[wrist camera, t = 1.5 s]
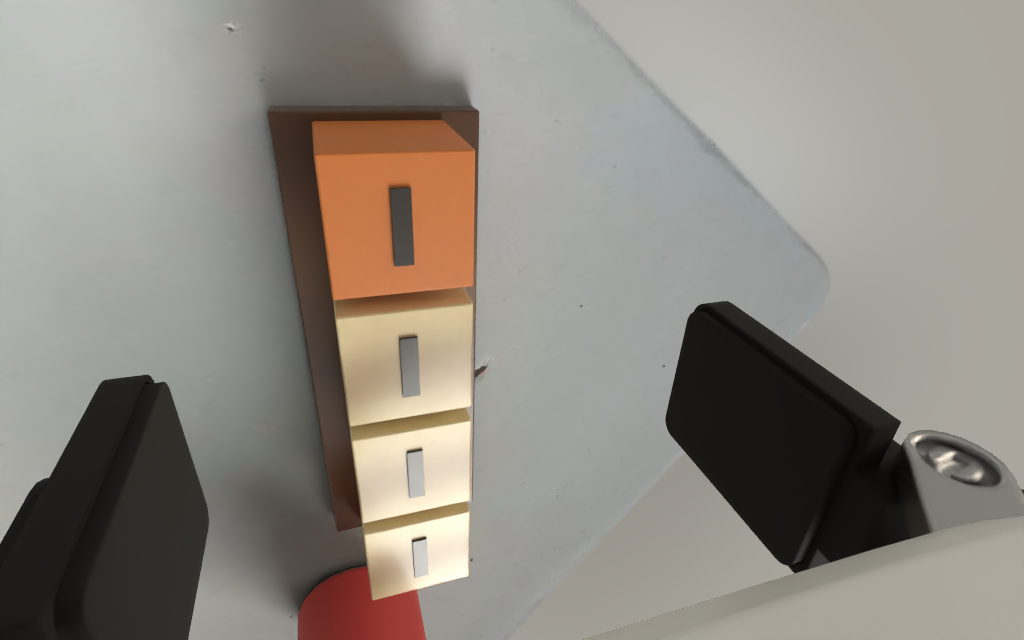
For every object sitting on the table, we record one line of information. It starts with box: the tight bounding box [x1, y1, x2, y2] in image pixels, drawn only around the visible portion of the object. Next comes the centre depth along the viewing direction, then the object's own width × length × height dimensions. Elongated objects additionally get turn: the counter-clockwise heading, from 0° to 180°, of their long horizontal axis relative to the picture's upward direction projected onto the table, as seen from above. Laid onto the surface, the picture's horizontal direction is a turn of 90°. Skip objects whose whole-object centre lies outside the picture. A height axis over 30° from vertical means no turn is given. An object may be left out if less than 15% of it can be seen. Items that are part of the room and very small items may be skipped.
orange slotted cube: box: [312, 120, 475, 300], centre depth 18 cm, size 4×4×4 cm
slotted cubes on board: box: [268, 106, 479, 600], centre depth 22 cm, size 20×7×6 cm, turn 177°
